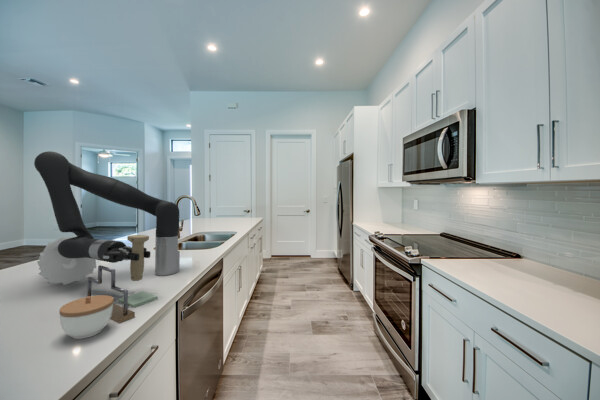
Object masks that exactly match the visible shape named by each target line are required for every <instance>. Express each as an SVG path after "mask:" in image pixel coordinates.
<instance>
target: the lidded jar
mask: <svg viewBox="0 0 600 400" xmlns="http://www.w3.org/2000/svg"><path fill="white" fill-rule="evenodd" d="M114 302H115V298H114V297H113V296H112V295H101V294H99V295H95V296H94V295H91V296H88V297H87V296H85V297H81V298H78V299H75V300H72V301H69V302H68V303H65V304H63V305H62V306H61V307H60V308H59V318H60V319H59V320H60V326H61V330H62V331H63V332H64V333H65V334H66V335H67V336H69V337H72V339H73V340H74V339H75V340H82V339H88V338H91V337H93V336H96V335H98V334H99V333H101V332H102V331H103V330H104V328H106V326H107V325H108V323H109V322H110V320H111V319H110V318H111V316H112V312H113V303H114ZM114 304H115V303H114Z"/></svg>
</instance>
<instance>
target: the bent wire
mask: <svg viewBox="0 0 600 400" xmlns="http://www.w3.org/2000/svg"><path fill="white" fill-rule="evenodd" d="M103 271H104V272H105V271H106V272H109V273H110V289H111V290H114V291H116V292H119V293H121V294H123V297H124V304H122V305H123V306H121V305H118V304H116V303H113V312H112V316H111V318H110V320H112V321H114V322H117V323H118V324H121V323H123V322H126V321H128V320H129V321H130V320H131V319H133V318H135V315H136V314H135V313H136V312H135V311H133V310H131V309H128V308H129V306H128V296H129V291H128V289H124V288H122V287H118V286H117V285H116V269H113V268H111V267H108V266H104V265H98V267H97V279H96V278H94V277H91V276H88V277H87V279H86V281H87V285H86V286H87V288H86V289H87V290H86V291H87V293H86V297H88V296H92V283H95V284H97V285H102V283H103ZM93 296H96V295H93Z"/></svg>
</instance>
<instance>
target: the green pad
mask: <svg viewBox="0 0 600 400" xmlns="http://www.w3.org/2000/svg"><path fill="white" fill-rule="evenodd" d="M156 300H158V295H156V294H152V293H150V292H146V291H145V290H142V291H138V292H136V293H132V294H128V308H129V307H130V308H132V309H134V308H136V307H140V306H142V305H145V304H149V303H150V302H153V301H156ZM117 303H119V304H122V305H124V296H122V297H119V298H117Z"/></svg>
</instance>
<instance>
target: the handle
mask: <svg viewBox="0 0 600 400" xmlns="http://www.w3.org/2000/svg"><path fill="white" fill-rule="evenodd" d="M149 240H150V235H147V234H146V235H145V234H133V235H127V241H128V242H130V243H131V247H132V253H137V254H139V260H138V261H134V260H130V264H129V266H130V267H129V271H130V281H132V282H139V281H141V280H142V279H143V277H144V275H143V274H144V270H145V258H144V248H145V243H146V242H148V241H149Z"/></svg>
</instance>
